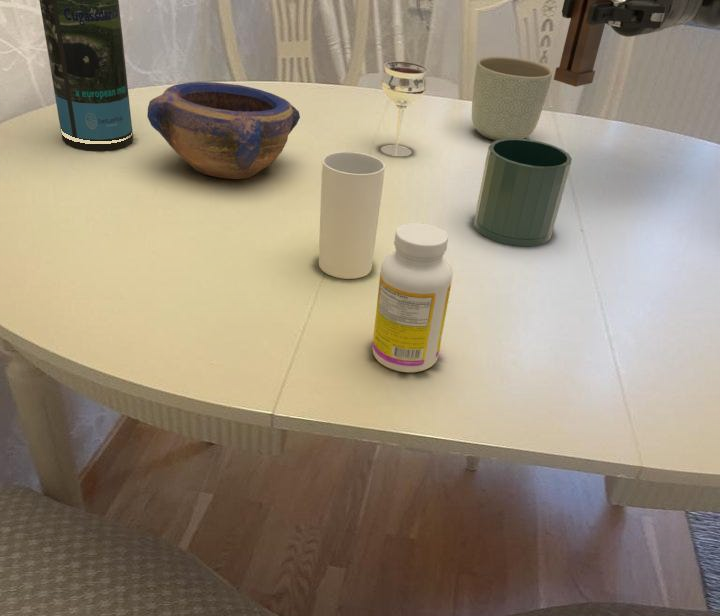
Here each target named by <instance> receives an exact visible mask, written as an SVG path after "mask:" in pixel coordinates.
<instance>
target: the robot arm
mask: <svg viewBox="0 0 720 616" xmlns="http://www.w3.org/2000/svg"><path fill="white" fill-rule="evenodd" d="M574 4H575V0H564V1H563V3H562V9H561V16H562V18H564V19H571V16H572V12H573V8H574ZM688 22H692V23H695V24H699V25H700V26H703V27H706V28H710V29H718V28H720V0H611V2H598V3H592V4H591V6H590V8H589V12H588V16H587V20H586V23H587V24H590V25H595V24H602V23H605V25H607V26H610V27H611V28H612V30H613V31H614V32H615V33H616V34H618V35H620V36H622V37H628V38H630V37H636V36H642V35H647V34H653V33H658V32H660V31H661V32H662V31H663V30H666V29H671V28H675V27H679V26H682V25H685V24H686V23H688Z"/></svg>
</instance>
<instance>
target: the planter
mask: <svg viewBox="0 0 720 616" xmlns="http://www.w3.org/2000/svg"><path fill="white" fill-rule="evenodd" d="M552 78H553V70H552V69H551V68H550V67H548V66H546V65H545V64H542V63H539V62H537V61H533V60H529V59H525V58H519V57H514V56H513V57H512V56H499V55H498V56H497V55H496V56H495V55H494V56H485V57H480V58H479V59H478V60H477V62H476V68H475V74H474V81H473V90H472V100H471V122H472V126H474V128H475V130H476V131H477V132H478V133H479V134H480V135H481V136H483V137H484V138H486V139H488V140H492V141H496V140H501V139H511V138H516V139H517V138H518V139H527V138H528V137H529V136H530V135H531V134H532V133H533V132H534V131H535V129H536V127H537V125H538V122H539V120H540V117H541V115H542V112H543V108H544V105H545V102H546V99H547V96H548V92H549V89H550V85H551V83H552V82H551V81H552Z"/></svg>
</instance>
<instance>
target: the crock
mask: <svg viewBox="0 0 720 616" xmlns="http://www.w3.org/2000/svg"><path fill="white" fill-rule="evenodd" d="M572 161H573V158H572V156H571V155H570V154H569V153H568V152H566V150H564V149H562V148H560V147H558V146H556V145H553V144H550V143H547V142H543V141H540V140H534V139H527V138H524V139H518V138H517V139H516V138H511V139H501V140H496V141H495V140H493V141H492V142H491V143H489V145H488V148H487V153H486V158H485V163H484V168H483V173H482V178H481V182H480V188H479V193H478V199H477V204H476V209H475V213H474V221H473V226H474V229H475V230H476V231H477V232H478V233H479V234H480V235H482V236H483V237H485V238H487V239H489V240H491V241H494V242H496V243H500V244H503V245H508V246H515V247H537V246H541V245H543V244H546V243H547V242H549V241H550V240H551V238H552V234H553V231H554V227H555V223H556V220H557V217H558V213H559V209H560V206H561V201H562V198H563V195H564V191H565V188H566V184H567V180H568V176H569V172H570V168H571V164H572Z"/></svg>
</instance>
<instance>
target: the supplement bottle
mask: <svg viewBox="0 0 720 616" xmlns="http://www.w3.org/2000/svg"><path fill="white" fill-rule="evenodd" d="M448 240H449V236H448V233H447V232H446V231H445V230H443V229H442V228H440V227H438V226H435V225H433V224H428V223H423V222H410V223H409V222H408V223H404V224H402V225H400V226H398V227H397V228H396V230H395V235H394V241H393V245H394V248H395V250H394V251H392V252H390V253H389V254H388V255H387V256H385V258H384V259H383V261H382V262H381V264H380V265H381V266H380V272H379V282H378V292H377V300H376V308H375V309H376V310H375V318H374V326H373V327H374V329H373V337H372V353H373V356H374V358H375V359H376V361H377V362H378V363H380V364H381V365H382V366H384V367H386V368H388V369H390V370H393V371H396V372H402V373H418V372H422V371H425V370H427V369H429V368H431V367H433V366H434V365H435V364H436V362H437V360H438V358H439V353H440V350H441V344H442V338H443V333H444V327H445V322H446V315H447V310H448V304H449V298H450V293H451V286H452V281H453V269H452V265H451V264H450V262H449V261H448V260H447V258H445V257H444V255H445V253H446V251H447V249H448V248H447V247H448V242H449V241H448Z"/></svg>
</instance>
